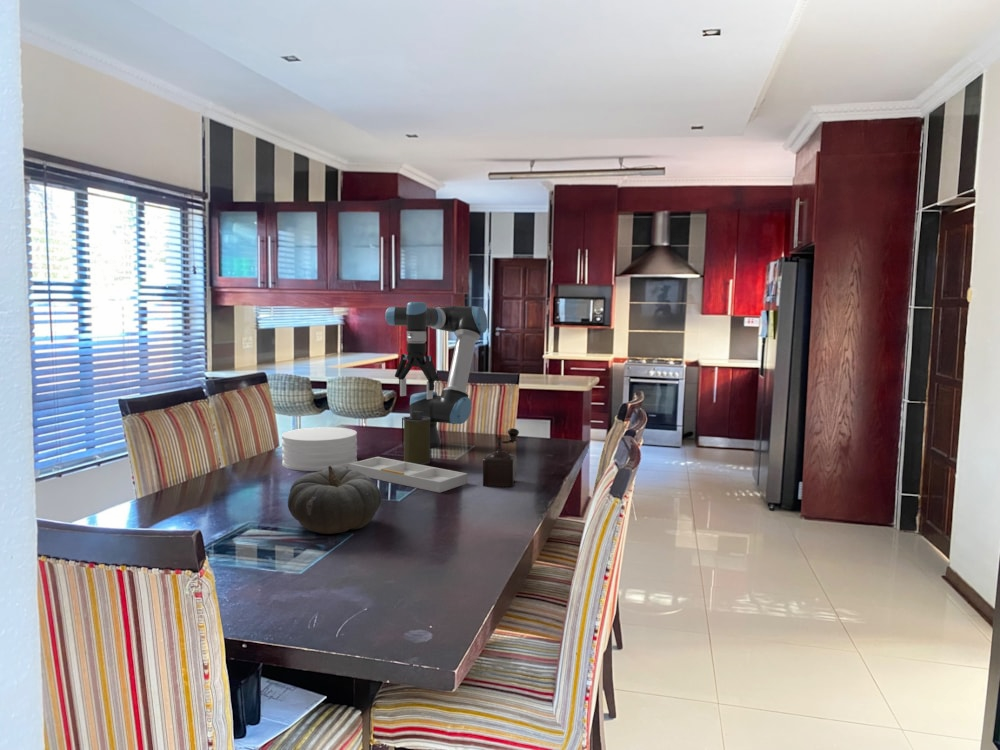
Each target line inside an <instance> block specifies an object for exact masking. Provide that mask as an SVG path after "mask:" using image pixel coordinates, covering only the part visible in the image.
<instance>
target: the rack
mask: <svg viewBox="0 0 1000 750" xmlns="http://www.w3.org/2000/svg"><path fill="white" fill-rule="evenodd" d="M347 468H348V469H351V470H352V471H359V472H361V473H363V474H364V475H366V476H367V477H369V478H370V479H374V480H378V481H384V482H387V483H393V484H396V485H402V486H405V487H411V488H416V489H421V490H425V491H430V492H434V493H443V492H446V491H448V490H452V489H455V488H457V487H461V486H464V485H467V484H468V479H469V477H468V473H466V472H460V471H457V470H452V469H445V468H439V467H434V466H429V465H426V464H424V465H420V464H414V463H409V462H404V460H397V459H393V458H392V459H391V458H387V457H383V456H382V457H381V456H375V457H370V458H366V459H362V460H357V462H353V463H349V464H348V467H347Z"/></svg>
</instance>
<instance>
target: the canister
mask: <svg viewBox="0 0 1000 750" xmlns="http://www.w3.org/2000/svg"><path fill="white" fill-rule="evenodd" d="M422 413H424V412H423V411H414V412H412V416H410V415H409V416H402V418H401V445H402V446H403V461H404V462H409V463H414V464H420V465H427V464H430V463H431V448H430V417H425V416H422Z"/></svg>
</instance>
